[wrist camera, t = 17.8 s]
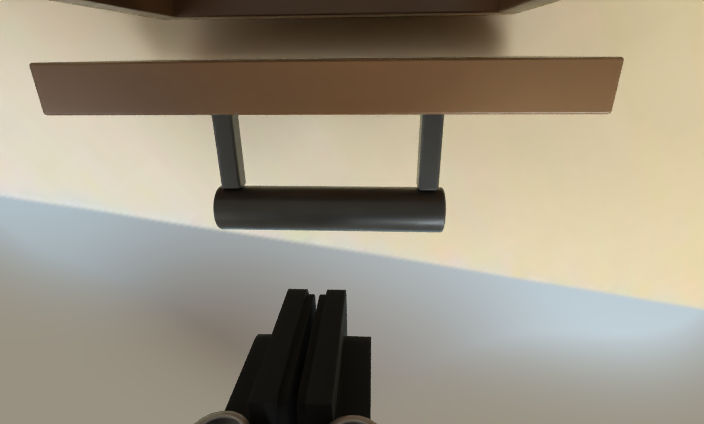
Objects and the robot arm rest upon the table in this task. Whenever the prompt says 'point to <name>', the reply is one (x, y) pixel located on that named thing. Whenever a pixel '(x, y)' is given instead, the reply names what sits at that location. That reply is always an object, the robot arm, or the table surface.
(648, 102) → the table surface
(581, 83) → the drawer
